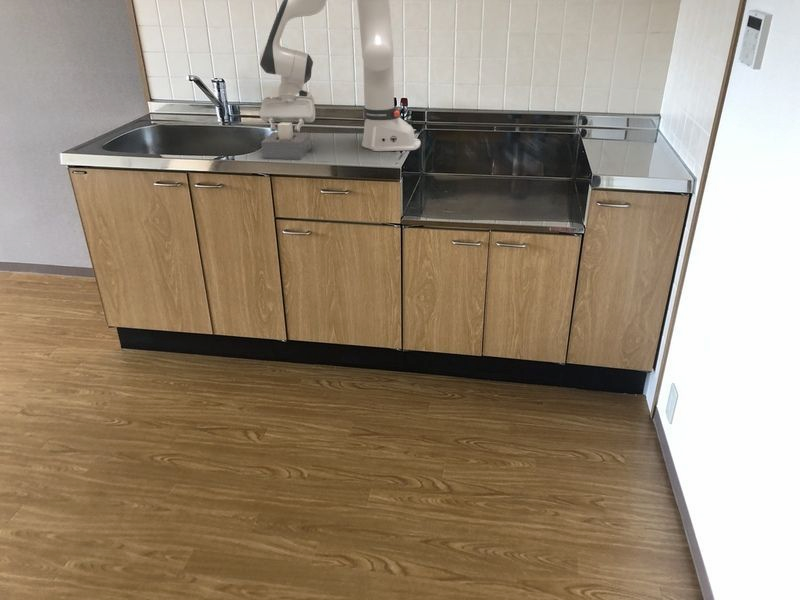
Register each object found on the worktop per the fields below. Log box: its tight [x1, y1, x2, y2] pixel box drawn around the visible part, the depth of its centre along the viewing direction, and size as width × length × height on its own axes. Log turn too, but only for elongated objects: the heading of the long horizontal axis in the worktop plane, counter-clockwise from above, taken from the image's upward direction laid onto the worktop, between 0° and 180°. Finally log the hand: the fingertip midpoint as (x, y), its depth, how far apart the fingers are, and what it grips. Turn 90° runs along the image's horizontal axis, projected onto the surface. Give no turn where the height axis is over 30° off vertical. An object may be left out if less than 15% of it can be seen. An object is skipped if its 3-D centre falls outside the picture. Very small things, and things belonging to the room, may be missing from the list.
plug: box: [277, 121, 294, 140], centre depth 244 cm, size 4×4×11 cm
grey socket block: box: [260, 131, 312, 161], centre depth 245 cm, size 14×14×6 cm
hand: (284, 130), depth 242 cm, fingers open, 8 cm apart
